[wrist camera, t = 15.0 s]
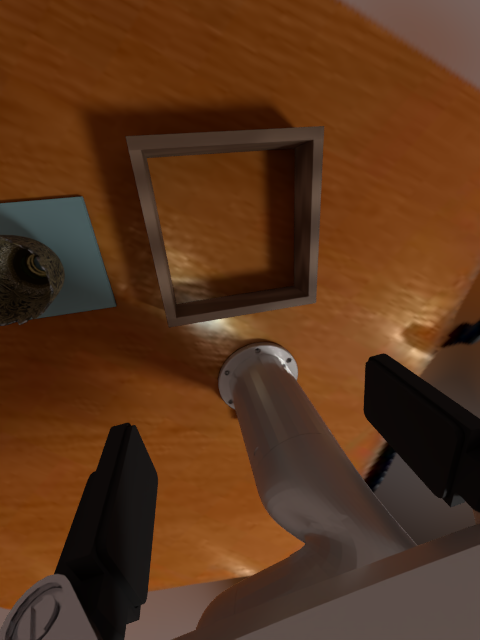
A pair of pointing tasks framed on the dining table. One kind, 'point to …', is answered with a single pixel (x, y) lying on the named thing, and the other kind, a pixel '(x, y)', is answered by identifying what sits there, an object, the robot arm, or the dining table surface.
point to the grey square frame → (305, 215)
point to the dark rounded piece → (27, 279)
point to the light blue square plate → (64, 250)
